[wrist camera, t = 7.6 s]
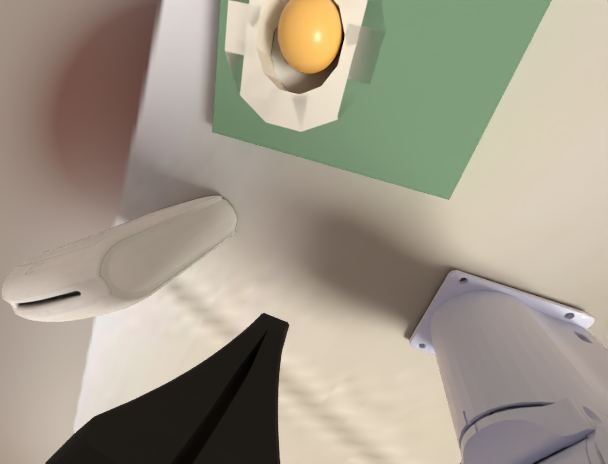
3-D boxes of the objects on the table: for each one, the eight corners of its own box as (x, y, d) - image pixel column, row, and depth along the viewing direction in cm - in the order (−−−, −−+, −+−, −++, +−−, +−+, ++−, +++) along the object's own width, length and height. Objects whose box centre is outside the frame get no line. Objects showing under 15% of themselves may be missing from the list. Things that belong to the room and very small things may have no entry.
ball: (300, 6, 15) (348, 40, 15) (270, 62, 16) (318, 94, 16) (298, -47, 12) (361, 0, 12) (260, 28, 12) (321, 70, 13)
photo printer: (164, 251, 26) (6, 343, 15) (144, 213, 25) (-45, 282, 14) (246, 233, 22) (117, 335, 11) (227, 187, 21) (62, 252, 10)
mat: (559, -52, 12) (597, -89, 10) (440, 191, 17) (449, 199, 15) (249, -93, 14) (228, -129, 12) (229, 131, 19) (212, 131, 17)
